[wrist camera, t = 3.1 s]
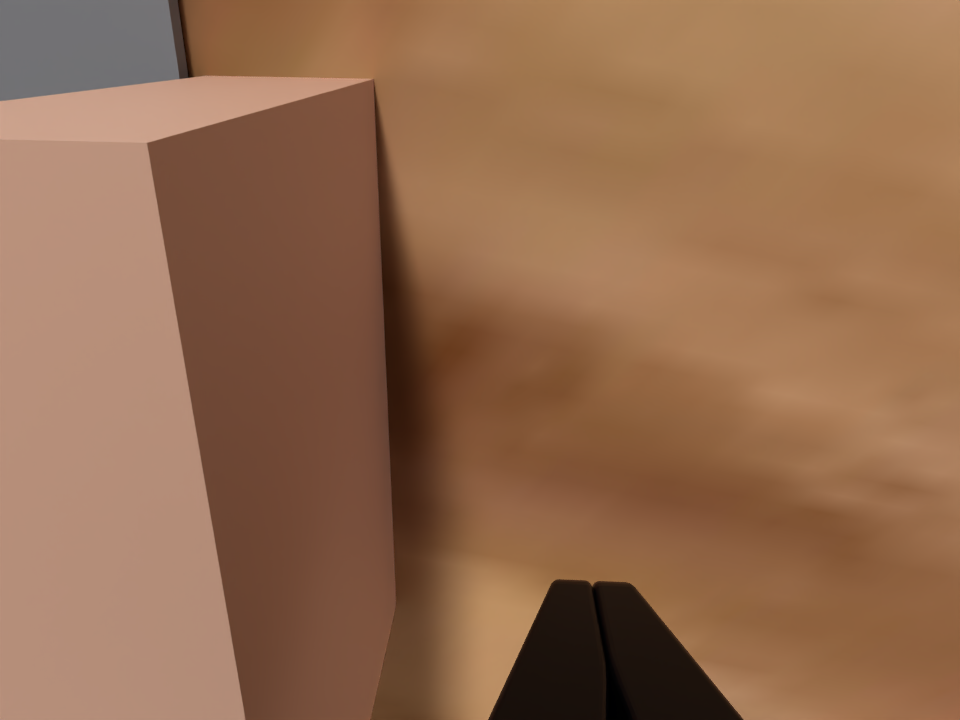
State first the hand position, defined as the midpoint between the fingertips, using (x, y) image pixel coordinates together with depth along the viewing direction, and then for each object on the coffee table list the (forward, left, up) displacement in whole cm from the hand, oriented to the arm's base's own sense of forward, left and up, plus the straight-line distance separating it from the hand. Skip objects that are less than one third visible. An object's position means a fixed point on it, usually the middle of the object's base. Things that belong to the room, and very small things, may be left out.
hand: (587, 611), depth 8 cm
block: (+4, 0, -5) cm, 7 cm away
